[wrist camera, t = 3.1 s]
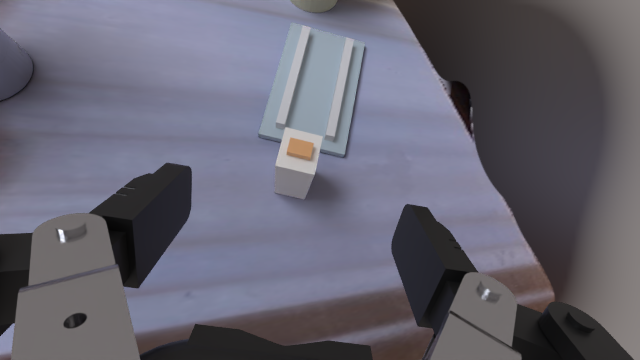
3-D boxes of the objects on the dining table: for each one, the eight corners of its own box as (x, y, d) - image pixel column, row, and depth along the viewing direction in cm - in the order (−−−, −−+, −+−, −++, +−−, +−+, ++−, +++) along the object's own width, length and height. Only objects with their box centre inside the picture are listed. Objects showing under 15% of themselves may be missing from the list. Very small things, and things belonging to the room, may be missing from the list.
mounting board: (343, 157, 42) (347, 150, 39) (258, 136, 41) (257, 128, 38) (363, 47, 48) (367, 35, 46) (291, 27, 47) (292, 14, 45)
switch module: (304, 199, 39) (315, 172, 29) (274, 192, 39) (275, 162, 29) (311, 169, 40) (324, 132, 30) (282, 162, 40) (285, 123, 30)
